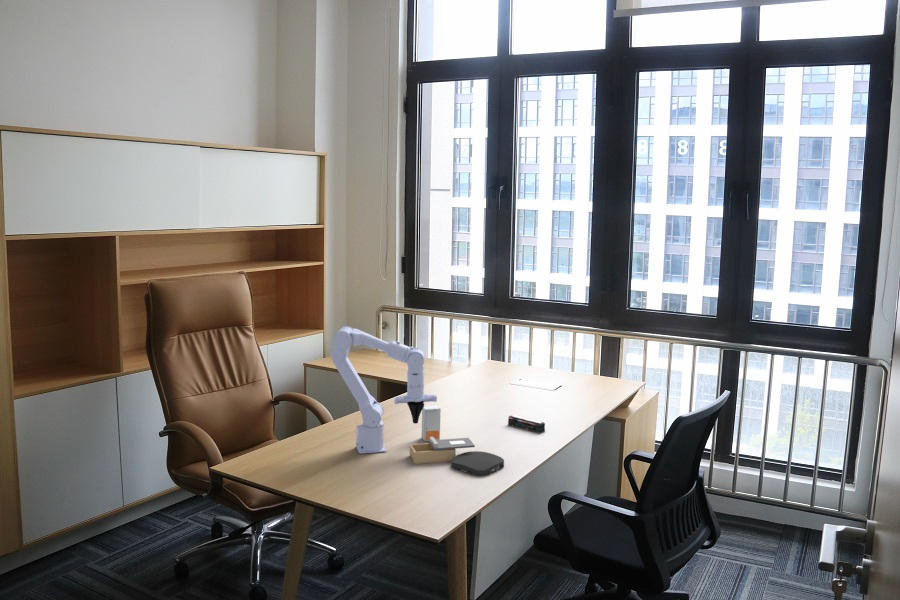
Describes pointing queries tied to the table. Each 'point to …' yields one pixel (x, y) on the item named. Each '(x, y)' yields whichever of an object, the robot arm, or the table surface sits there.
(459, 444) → the lid
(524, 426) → the graphics card
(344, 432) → the table surface
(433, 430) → the skincare box
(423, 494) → the table surface
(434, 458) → the box
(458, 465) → the media streaming box
